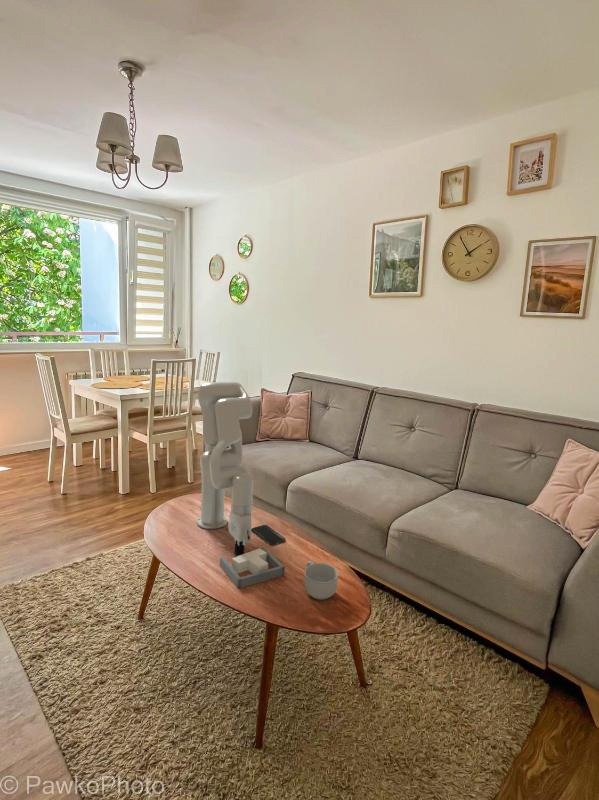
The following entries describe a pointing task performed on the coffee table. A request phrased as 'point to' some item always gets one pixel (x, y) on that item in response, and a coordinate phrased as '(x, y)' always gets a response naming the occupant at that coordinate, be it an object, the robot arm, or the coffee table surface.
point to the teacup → (320, 580)
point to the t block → (250, 562)
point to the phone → (268, 534)
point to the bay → (256, 577)
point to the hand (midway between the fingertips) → (239, 553)
